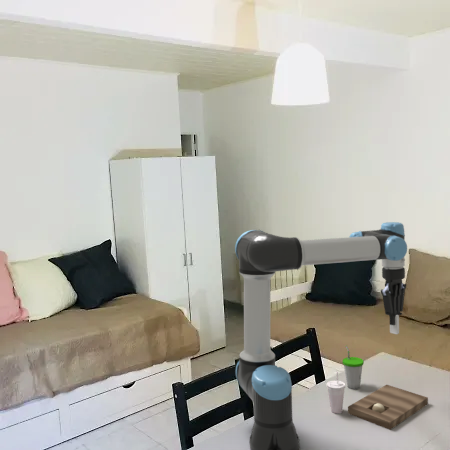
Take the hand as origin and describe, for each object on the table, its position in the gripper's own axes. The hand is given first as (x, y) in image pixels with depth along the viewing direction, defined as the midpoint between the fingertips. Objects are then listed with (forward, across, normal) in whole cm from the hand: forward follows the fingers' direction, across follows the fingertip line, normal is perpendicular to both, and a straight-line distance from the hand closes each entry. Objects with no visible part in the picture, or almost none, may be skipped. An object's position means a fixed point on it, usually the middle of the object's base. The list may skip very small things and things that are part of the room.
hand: (394, 333), depth 182 cm
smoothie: (+25, -21, +10) cm, 34 cm away
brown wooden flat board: (+24, -8, -2) cm, 26 cm away
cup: (+25, -1, +17) cm, 30 cm away
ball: (+22, -14, -2) cm, 27 cm away
